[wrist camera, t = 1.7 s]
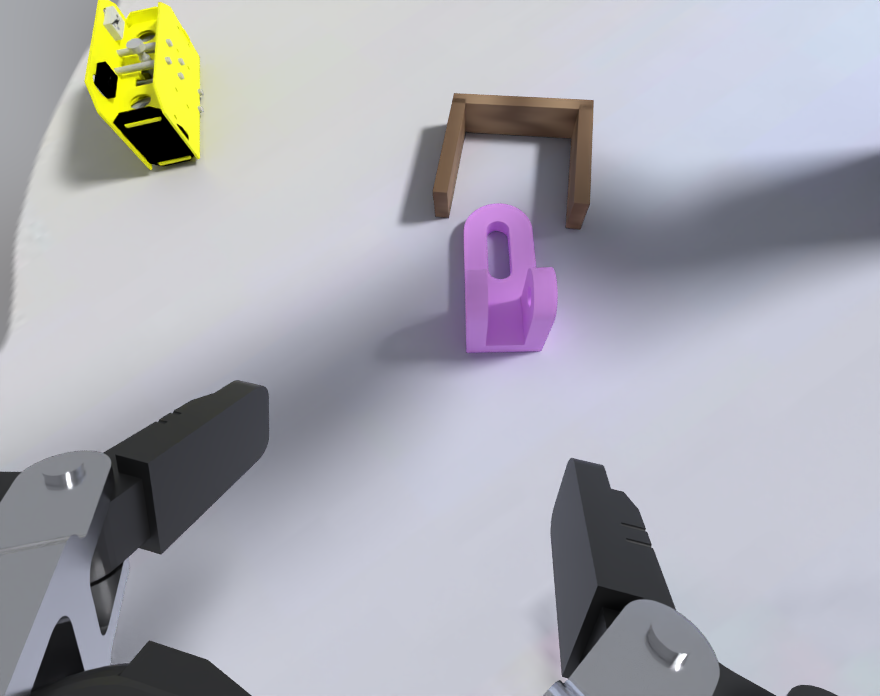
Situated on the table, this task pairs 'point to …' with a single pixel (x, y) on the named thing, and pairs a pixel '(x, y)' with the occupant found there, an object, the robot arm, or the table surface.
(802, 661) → the table surface
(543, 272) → the bracket
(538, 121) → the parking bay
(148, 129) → the yellow toy chassis
